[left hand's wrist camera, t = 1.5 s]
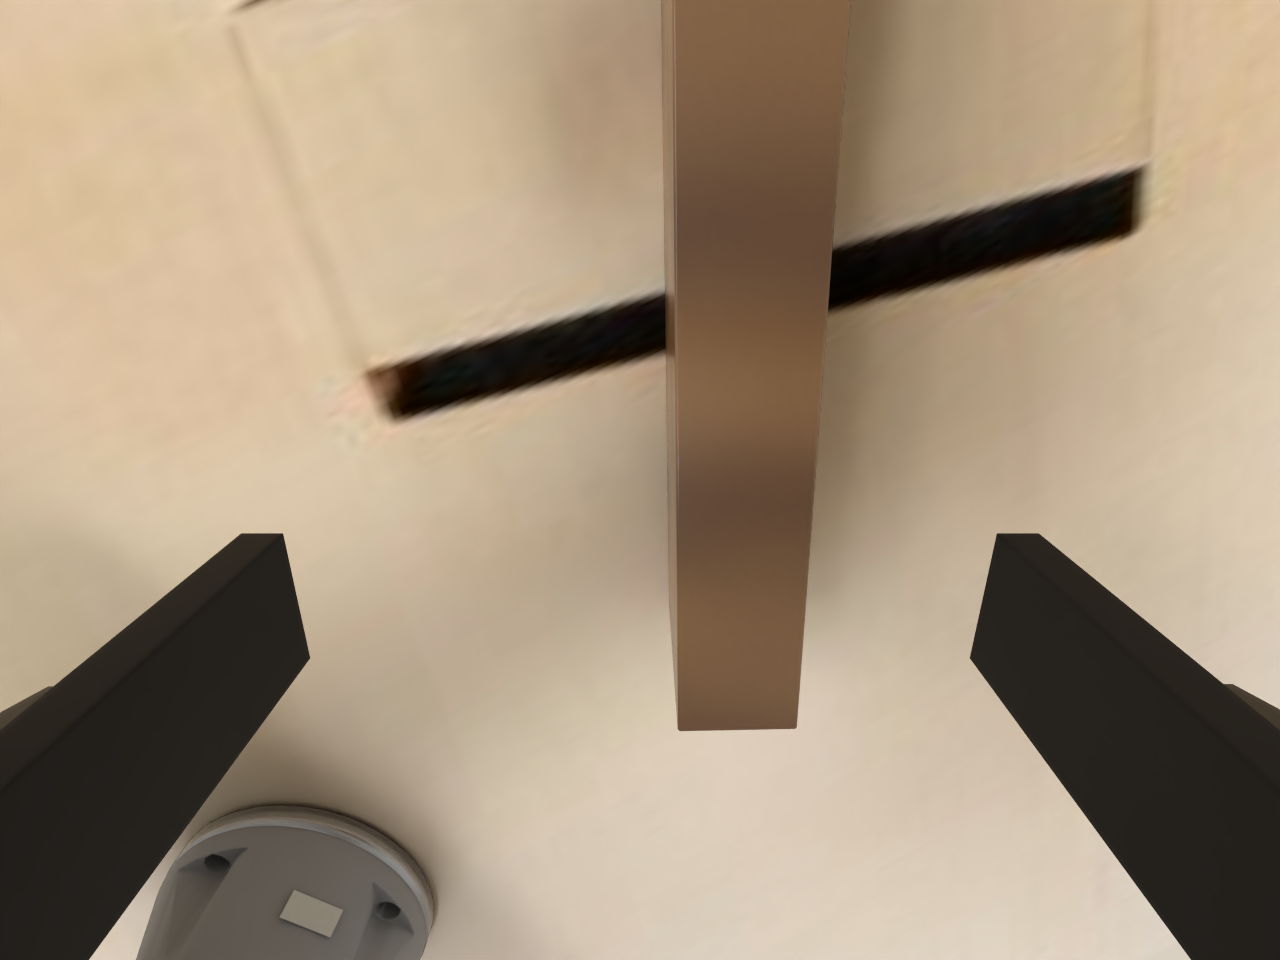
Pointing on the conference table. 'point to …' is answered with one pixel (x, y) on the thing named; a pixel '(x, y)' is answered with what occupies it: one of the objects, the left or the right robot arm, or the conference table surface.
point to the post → (745, 338)
